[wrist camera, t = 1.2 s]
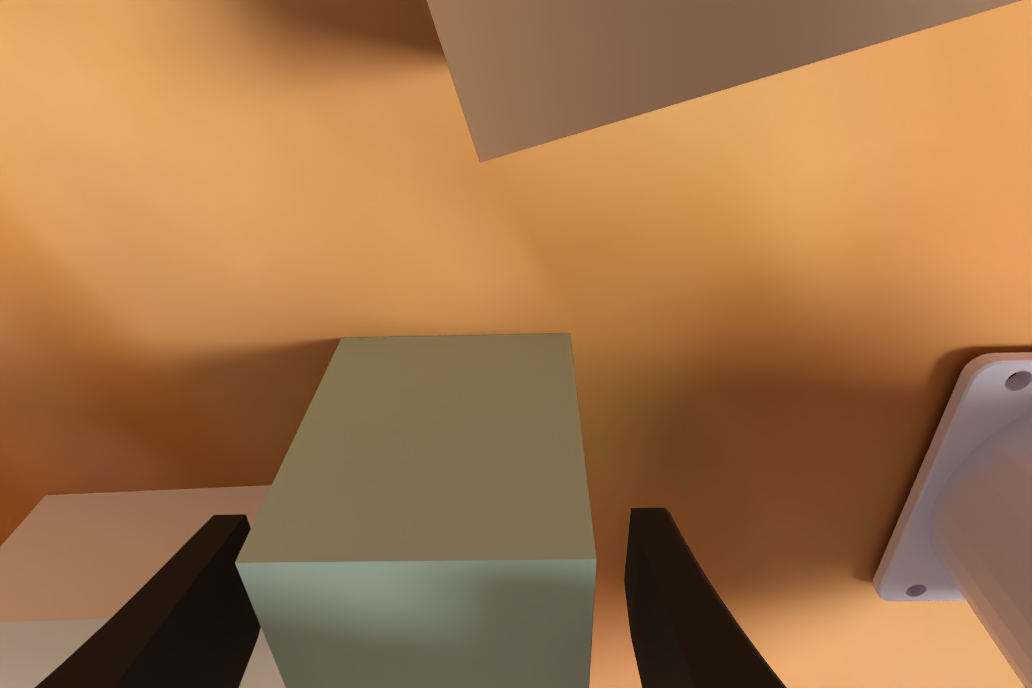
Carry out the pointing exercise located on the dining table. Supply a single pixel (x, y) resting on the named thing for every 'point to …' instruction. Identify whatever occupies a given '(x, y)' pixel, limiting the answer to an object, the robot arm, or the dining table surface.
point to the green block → (431, 521)
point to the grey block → (101, 570)
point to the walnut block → (643, 54)
